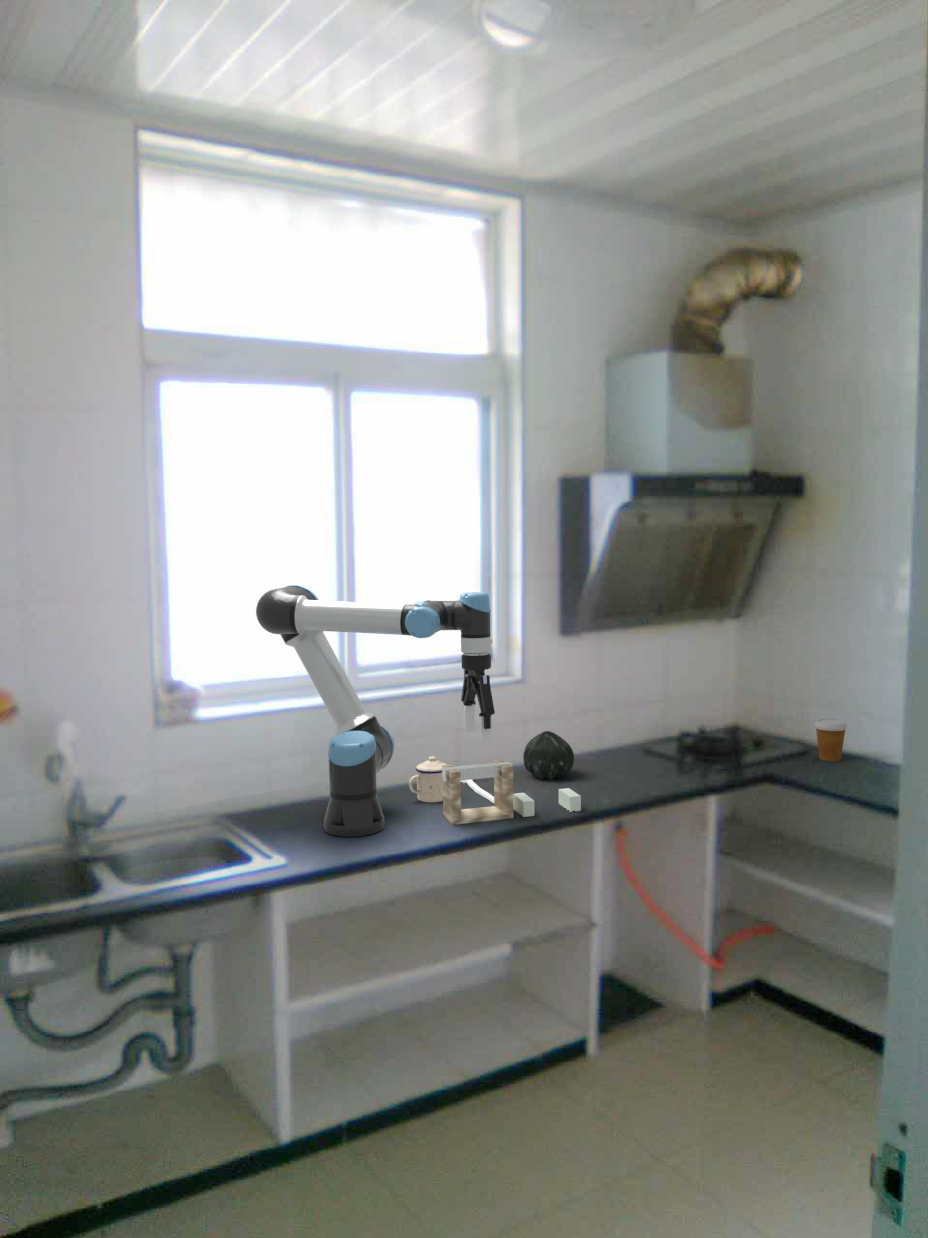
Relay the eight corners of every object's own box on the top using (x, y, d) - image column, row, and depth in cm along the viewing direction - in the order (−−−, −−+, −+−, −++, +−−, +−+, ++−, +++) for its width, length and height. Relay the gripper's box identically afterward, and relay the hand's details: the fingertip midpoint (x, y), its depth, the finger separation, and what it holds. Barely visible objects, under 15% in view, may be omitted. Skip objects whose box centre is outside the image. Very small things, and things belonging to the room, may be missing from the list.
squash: (559, 749, 306) (533, 717, 299) (590, 760, 293) (565, 727, 286) (531, 784, 301) (504, 753, 294) (562, 797, 289) (535, 765, 282)
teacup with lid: (438, 792, 280) (437, 751, 279) (455, 799, 272) (455, 757, 271) (401, 799, 273) (400, 757, 272) (418, 807, 266) (417, 764, 264)
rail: (445, 782, 251) (445, 770, 251) (442, 779, 254) (442, 767, 253) (512, 775, 256) (512, 764, 256) (508, 772, 259) (508, 761, 259)
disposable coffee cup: (815, 762, 307) (816, 724, 305) (812, 754, 316) (813, 717, 315) (848, 763, 304) (849, 725, 303) (843, 756, 314) (844, 718, 312)
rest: (523, 817, 255) (523, 802, 255) (513, 808, 263) (512, 793, 262) (580, 810, 260) (580, 796, 259) (568, 802, 268) (568, 788, 267)
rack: (451, 824, 250) (450, 772, 248) (443, 815, 257) (442, 765, 256) (513, 818, 254) (513, 766, 253) (503, 809, 262) (502, 759, 261)
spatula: (509, 806, 267) (509, 795, 266) (495, 807, 265) (495, 797, 265) (471, 780, 293) (471, 771, 293) (458, 782, 291) (458, 772, 291)
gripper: (506, 658, 241) (508, 744, 243) (475, 646, 264) (477, 725, 267) (476, 660, 239) (478, 747, 241) (448, 648, 262) (450, 727, 264)
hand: (477, 735), depth 254 cm, fingers open, 13 cm apart
